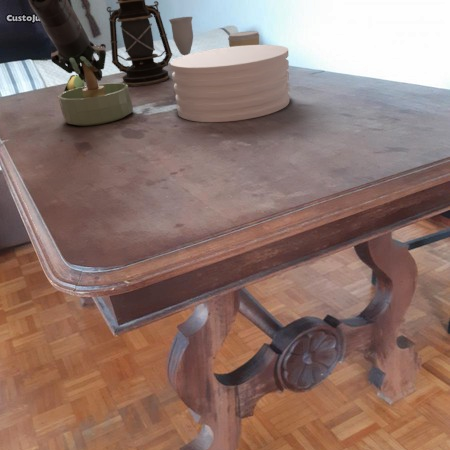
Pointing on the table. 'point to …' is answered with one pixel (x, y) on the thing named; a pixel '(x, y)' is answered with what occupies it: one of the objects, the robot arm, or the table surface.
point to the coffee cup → (244, 38)
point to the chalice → (182, 34)
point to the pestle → (91, 83)
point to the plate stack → (231, 83)
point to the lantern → (139, 42)
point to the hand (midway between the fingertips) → (92, 78)
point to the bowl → (96, 105)
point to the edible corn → (74, 83)
